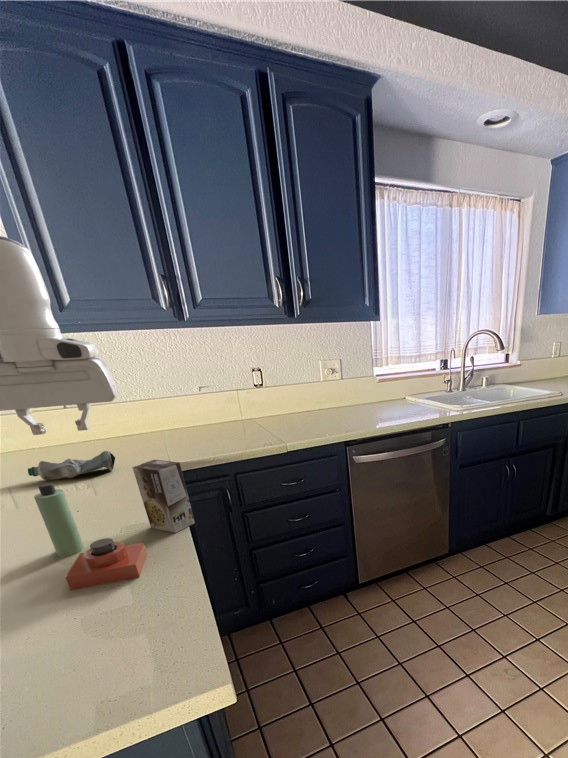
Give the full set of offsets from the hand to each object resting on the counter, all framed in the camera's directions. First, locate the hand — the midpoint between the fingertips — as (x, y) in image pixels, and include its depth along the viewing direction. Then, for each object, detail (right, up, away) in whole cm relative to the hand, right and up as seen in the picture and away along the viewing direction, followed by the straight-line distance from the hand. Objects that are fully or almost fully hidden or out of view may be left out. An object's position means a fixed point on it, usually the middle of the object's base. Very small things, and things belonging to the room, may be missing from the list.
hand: (62, 431), depth 76 cm
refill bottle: (-14, -23, +21) cm, 34 cm away
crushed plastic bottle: (-49, -2, +72) cm, 87 cm away
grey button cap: (+1, -22, +10) cm, 25 cm away
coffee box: (+4, -18, +31) cm, 36 cm away
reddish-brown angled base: (+1, -26, +12) cm, 29 cm away
